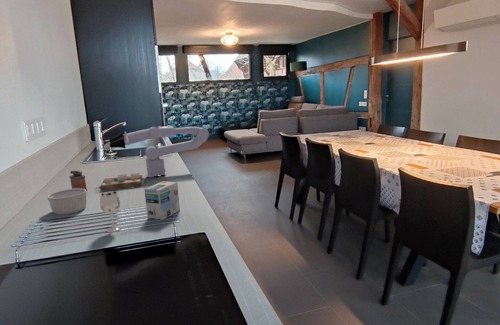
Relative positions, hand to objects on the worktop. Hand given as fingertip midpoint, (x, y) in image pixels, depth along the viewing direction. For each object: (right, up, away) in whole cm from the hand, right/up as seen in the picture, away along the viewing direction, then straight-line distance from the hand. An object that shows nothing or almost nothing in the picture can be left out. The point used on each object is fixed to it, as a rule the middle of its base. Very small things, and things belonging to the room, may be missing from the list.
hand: (109, 143), depth 171 cm
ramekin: (+1, -28, -40) cm, 49 cm away
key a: (+14, -18, -4) cm, 23 cm away
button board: (+9, -21, -6) cm, 23 cm away
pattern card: (+10, -19, -11) cm, 24 cm away
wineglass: (+28, -31, -63) cm, 75 cm away
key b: (+9, -19, -5) cm, 21 cm away
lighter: (-8, -23, -13) cm, 28 cm away
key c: (+3, -19, -7) cm, 21 cm away
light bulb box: (+41, -28, -51) cm, 71 cm away
